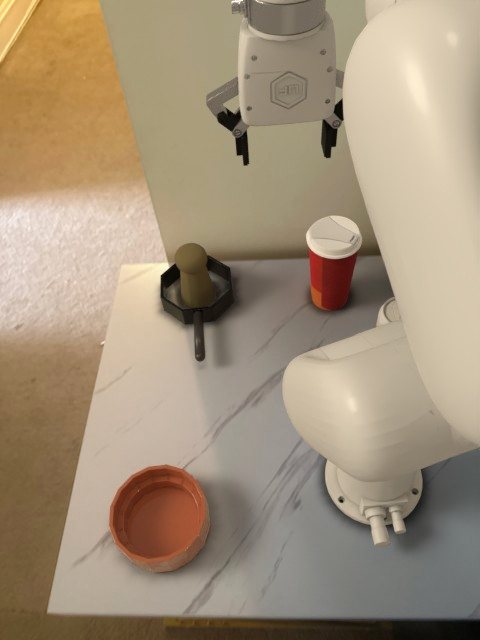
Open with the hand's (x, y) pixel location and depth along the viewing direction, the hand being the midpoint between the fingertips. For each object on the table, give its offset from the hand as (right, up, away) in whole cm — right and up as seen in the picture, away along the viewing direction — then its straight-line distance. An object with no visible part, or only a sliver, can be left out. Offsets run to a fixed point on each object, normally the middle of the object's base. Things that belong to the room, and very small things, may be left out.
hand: (285, 154), depth 67 cm
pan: (-12, -19, +27) cm, 35 cm away
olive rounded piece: (-13, -16, +30) cm, 36 cm away
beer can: (+17, -28, +18) cm, 37 cm away
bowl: (-15, -46, +6) cm, 49 cm away
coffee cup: (+10, -16, +28) cm, 33 cm away
